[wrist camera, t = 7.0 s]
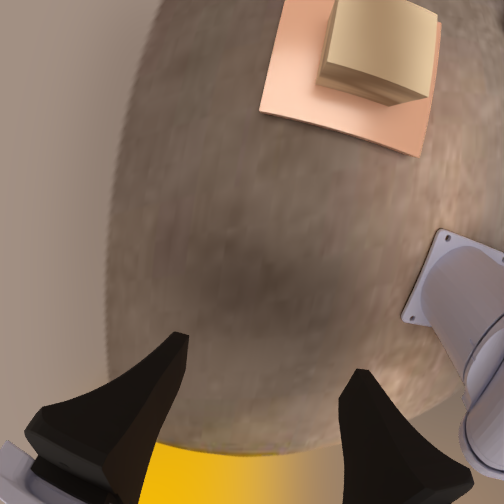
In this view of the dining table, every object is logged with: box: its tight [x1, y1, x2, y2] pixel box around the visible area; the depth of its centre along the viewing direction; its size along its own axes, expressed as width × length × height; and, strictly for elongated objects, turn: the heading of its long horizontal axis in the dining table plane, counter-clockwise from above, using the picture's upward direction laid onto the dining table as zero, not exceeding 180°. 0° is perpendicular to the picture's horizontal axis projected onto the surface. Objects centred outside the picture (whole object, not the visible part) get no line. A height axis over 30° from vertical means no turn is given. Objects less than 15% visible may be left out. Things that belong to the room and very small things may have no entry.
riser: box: [259, 0, 441, 158], centre depth 14 cm, size 10×10×2 cm
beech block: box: [315, 0, 437, 107], centre depth 11 cm, size 4×4×6 cm
